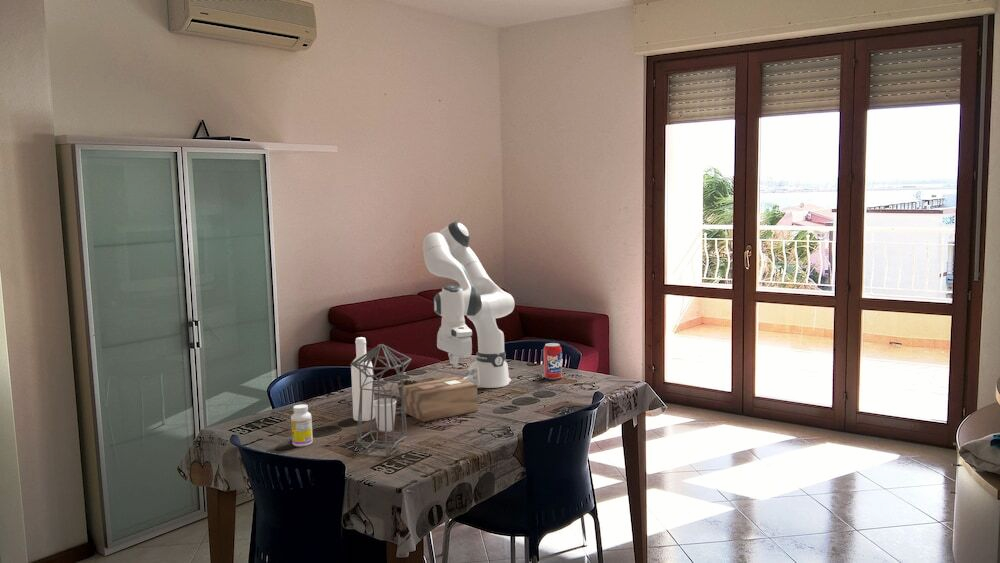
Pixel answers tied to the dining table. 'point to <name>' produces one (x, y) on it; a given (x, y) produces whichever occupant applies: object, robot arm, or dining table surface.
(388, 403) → the dixie cup
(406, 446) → the dining table surface
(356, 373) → the bottle
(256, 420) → the dining table surface
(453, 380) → the white rectangular block
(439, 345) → the robot arm
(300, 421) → the supplement bottle
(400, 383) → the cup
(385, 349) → the geometric lantern
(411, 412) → the light wood block
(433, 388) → the peg terracotta
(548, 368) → the soda can
